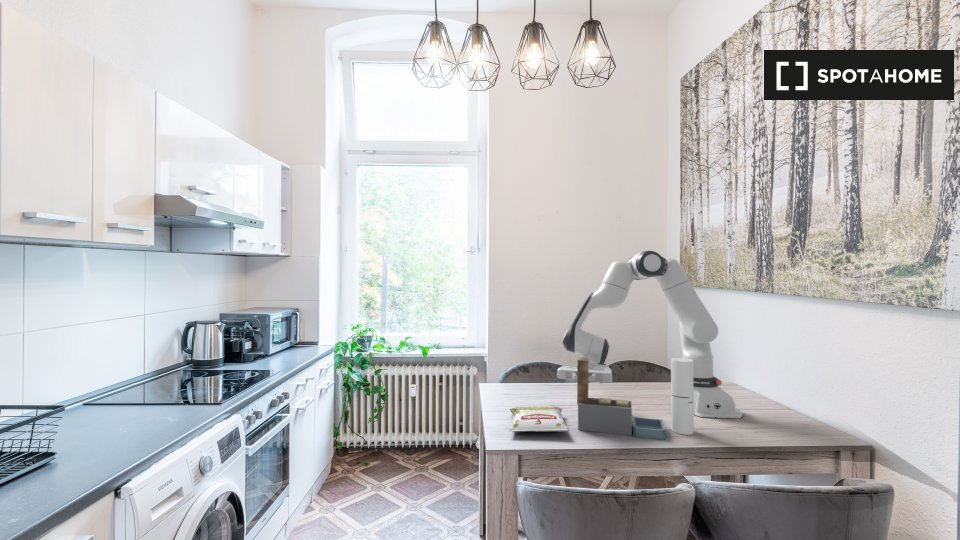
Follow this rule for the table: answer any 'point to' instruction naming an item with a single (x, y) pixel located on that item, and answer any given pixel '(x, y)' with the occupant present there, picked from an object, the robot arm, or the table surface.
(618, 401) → the tan wooden cube
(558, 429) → the frozen beans
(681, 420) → the cylindrical container
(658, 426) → the tray
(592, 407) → the channel
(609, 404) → the tan cube
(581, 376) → the tall wooden post
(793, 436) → the table surface
